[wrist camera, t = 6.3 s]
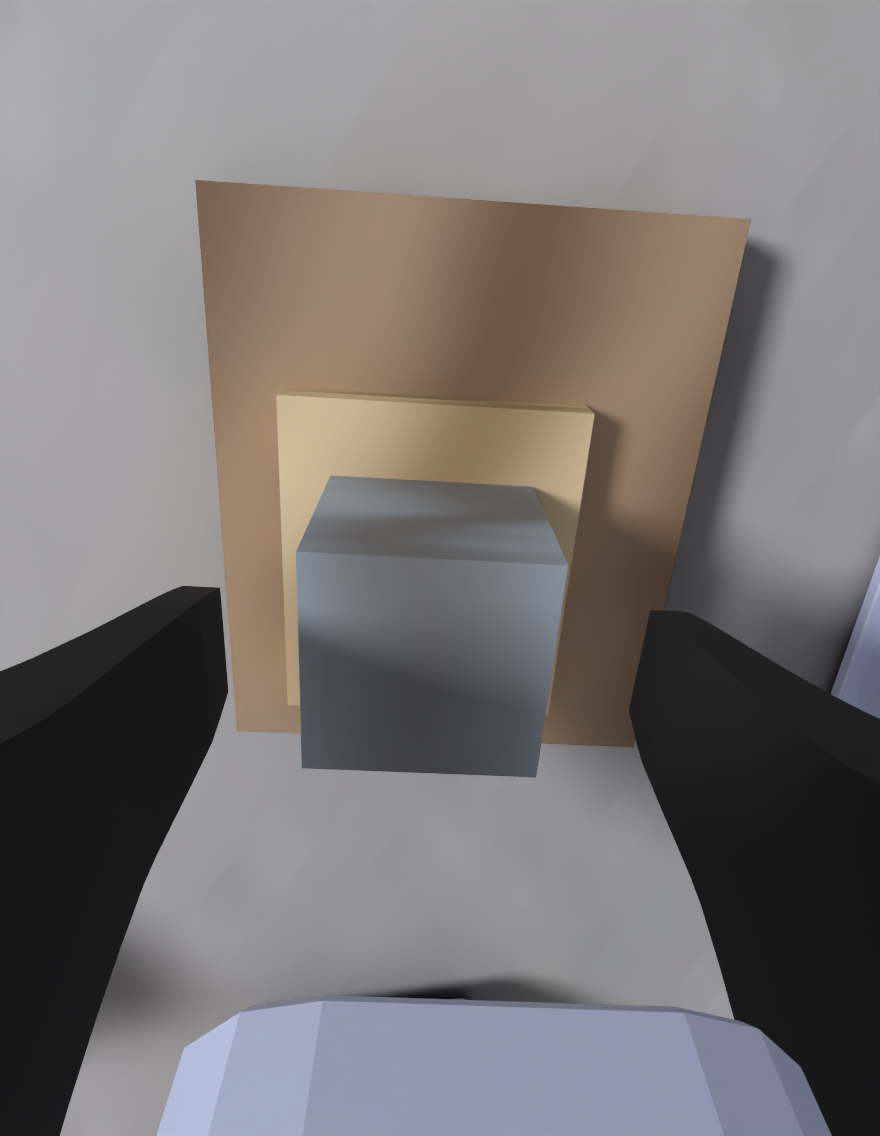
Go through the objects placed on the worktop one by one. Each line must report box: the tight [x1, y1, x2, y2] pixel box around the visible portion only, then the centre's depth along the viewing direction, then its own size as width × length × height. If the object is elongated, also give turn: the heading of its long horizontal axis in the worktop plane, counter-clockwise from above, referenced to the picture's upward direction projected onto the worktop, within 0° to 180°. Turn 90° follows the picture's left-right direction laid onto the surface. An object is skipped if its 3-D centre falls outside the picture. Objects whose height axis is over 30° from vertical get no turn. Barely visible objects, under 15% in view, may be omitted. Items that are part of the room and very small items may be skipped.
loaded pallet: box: [276, 387, 595, 777], centre depth 13 cm, size 6×7×5 cm
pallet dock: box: [195, 180, 751, 747], centre depth 15 cm, size 10×12×2 cm
